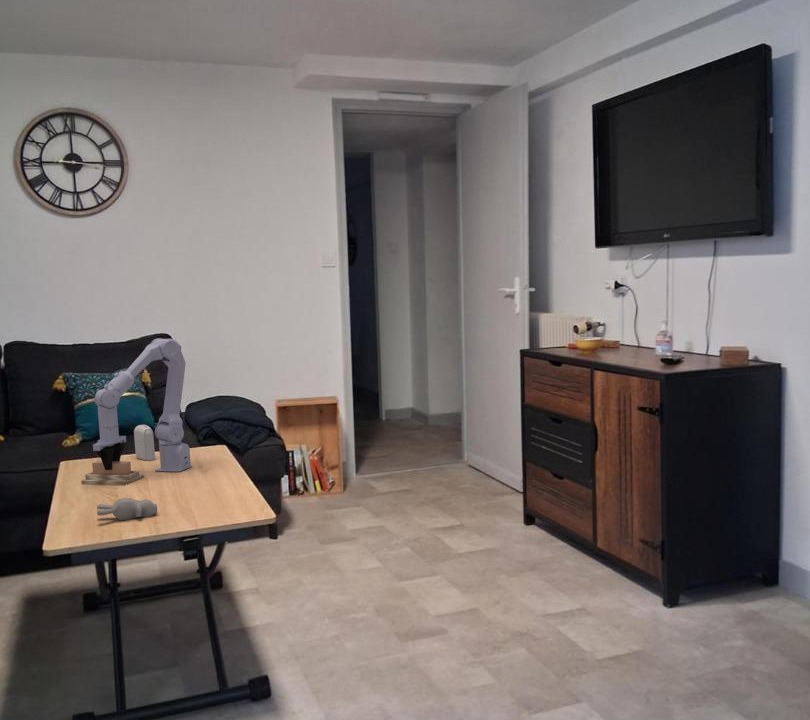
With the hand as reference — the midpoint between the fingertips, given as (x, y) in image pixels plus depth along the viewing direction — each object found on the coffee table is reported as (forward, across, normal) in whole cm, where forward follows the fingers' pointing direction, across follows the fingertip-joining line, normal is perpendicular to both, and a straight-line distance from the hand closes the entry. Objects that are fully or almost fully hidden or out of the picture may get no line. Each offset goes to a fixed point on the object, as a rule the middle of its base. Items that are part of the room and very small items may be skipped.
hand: (111, 468), depth 261 cm
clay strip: (+3, 0, 0) cm, 3 cm away
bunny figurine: (+4, +38, +31) cm, 49 cm away
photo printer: (+4, -32, -9) cm, 34 cm away
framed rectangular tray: (+4, 0, 0) cm, 4 cm away
